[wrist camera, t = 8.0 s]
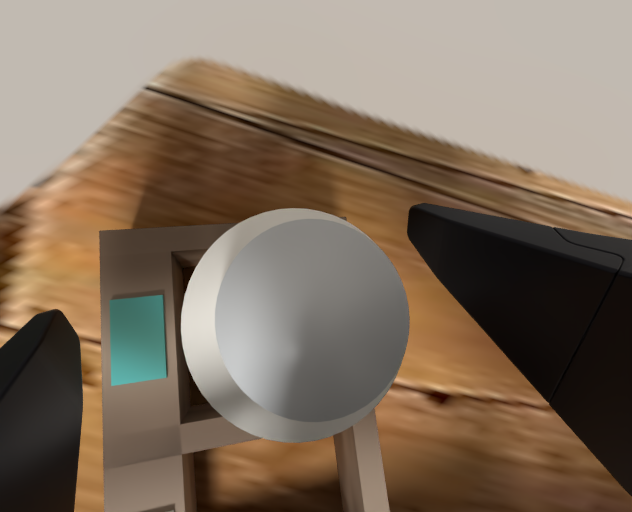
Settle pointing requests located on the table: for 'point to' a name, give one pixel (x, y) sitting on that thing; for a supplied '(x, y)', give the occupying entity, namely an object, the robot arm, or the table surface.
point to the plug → (294, 325)
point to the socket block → (179, 383)
